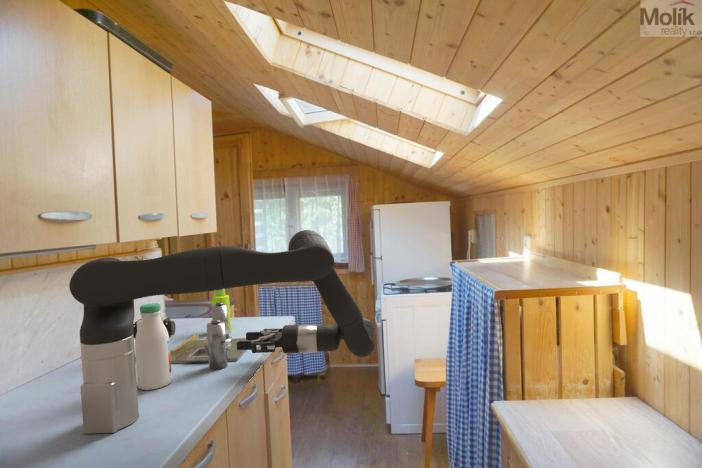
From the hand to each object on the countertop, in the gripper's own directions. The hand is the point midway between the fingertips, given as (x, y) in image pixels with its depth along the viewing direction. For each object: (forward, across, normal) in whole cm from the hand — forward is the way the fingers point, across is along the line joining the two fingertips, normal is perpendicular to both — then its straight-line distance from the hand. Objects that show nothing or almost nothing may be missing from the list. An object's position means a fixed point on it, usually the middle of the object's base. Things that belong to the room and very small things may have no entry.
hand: (241, 340), depth 113 cm
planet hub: (+7, 0, +7) cm, 10 cm away
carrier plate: (+13, -14, +7) cm, 20 cm away
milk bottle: (+19, +11, +7) cm, 23 cm away
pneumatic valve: (+31, -13, +7) cm, 34 cm away
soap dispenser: (+18, -35, +7) cm, 40 cm away
